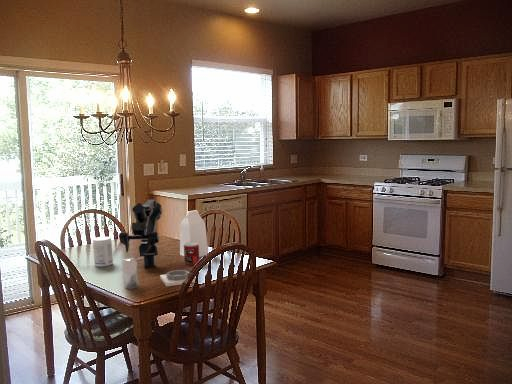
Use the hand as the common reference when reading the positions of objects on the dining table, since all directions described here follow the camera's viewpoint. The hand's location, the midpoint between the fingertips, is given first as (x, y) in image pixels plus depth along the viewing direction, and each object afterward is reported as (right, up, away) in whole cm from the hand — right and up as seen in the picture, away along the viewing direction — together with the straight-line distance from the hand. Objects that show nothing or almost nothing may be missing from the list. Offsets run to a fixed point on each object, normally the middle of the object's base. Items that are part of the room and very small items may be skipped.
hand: (136, 251), depth 223 cm
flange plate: (+19, -14, +3) cm, 24 cm away
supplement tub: (-26, -11, +32) cm, 43 cm away
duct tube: (-1, -15, -6) cm, 17 cm away
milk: (+21, -8, +49) cm, 54 cm away
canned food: (+22, -11, +31) cm, 39 cm away
